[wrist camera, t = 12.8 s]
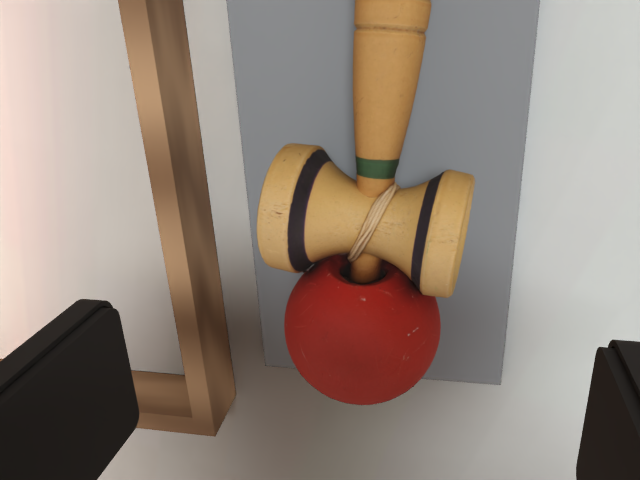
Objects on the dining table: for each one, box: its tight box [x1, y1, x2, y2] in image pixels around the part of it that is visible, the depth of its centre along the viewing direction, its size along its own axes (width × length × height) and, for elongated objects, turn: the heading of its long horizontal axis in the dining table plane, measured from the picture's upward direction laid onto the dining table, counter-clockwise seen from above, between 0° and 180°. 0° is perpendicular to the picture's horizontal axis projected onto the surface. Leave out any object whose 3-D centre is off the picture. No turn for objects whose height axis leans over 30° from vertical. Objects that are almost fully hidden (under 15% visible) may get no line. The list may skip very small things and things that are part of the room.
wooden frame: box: [0, 0, 236, 436], centre depth 24 cm, size 25×17×3 cm
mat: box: [226, 0, 540, 385], centre depth 22 cm, size 20×11×1 cm, turn 3°
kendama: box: [257, 0, 475, 405], centre depth 20 cm, size 8×6×18 cm
